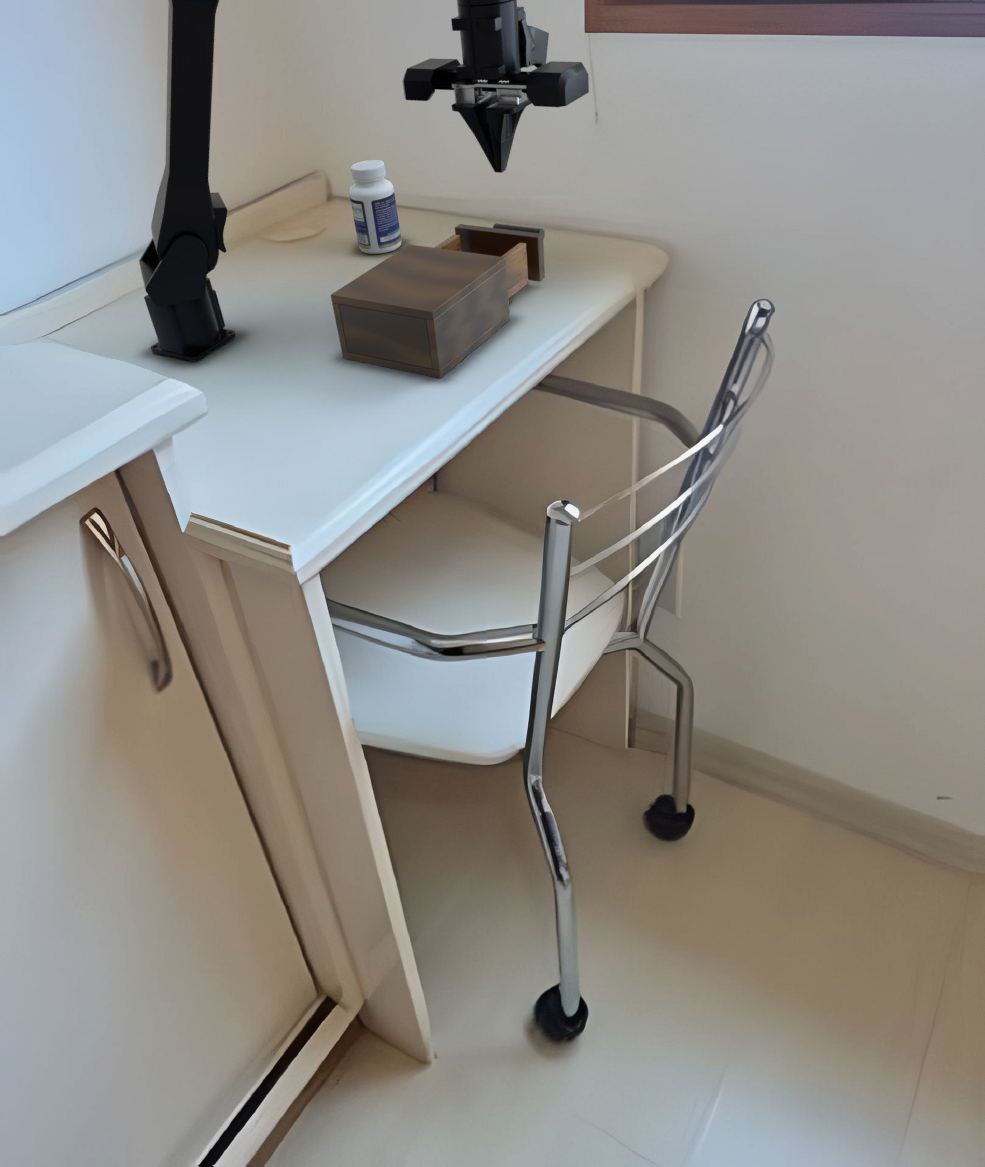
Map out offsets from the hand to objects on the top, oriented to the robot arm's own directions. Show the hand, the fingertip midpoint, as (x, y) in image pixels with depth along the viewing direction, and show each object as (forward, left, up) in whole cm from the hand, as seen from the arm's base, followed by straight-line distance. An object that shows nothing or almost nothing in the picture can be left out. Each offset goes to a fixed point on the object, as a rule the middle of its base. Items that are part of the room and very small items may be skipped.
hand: (500, 171), depth 99 cm
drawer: (-6, 0, -10) cm, 12 cm away
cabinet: (-18, 0, -11) cm, 21 cm away
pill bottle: (+2, +20, -11) cm, 23 cm away
